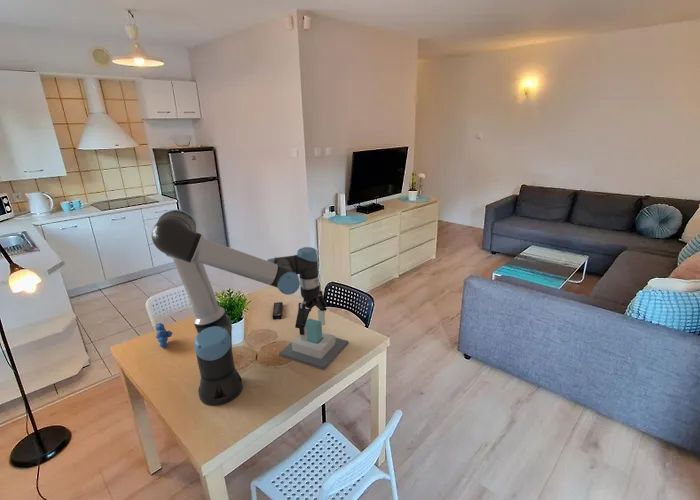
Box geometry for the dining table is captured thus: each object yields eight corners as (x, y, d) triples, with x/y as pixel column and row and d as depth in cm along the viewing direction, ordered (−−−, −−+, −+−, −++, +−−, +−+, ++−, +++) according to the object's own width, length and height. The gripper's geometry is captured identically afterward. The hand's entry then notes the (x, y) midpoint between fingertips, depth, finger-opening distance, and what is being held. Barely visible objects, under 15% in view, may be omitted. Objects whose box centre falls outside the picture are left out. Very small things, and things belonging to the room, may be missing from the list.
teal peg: (317, 351, 153) (316, 326, 149) (305, 347, 156) (303, 322, 152) (322, 346, 156) (321, 321, 152) (311, 342, 159) (309, 318, 155)
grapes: (176, 351, 158) (171, 327, 154) (159, 356, 155) (153, 331, 151) (174, 338, 168) (169, 315, 164) (157, 342, 165) (152, 319, 161)
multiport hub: (282, 305, 195) (282, 301, 194) (281, 319, 182) (281, 315, 181) (274, 306, 195) (274, 302, 194) (272, 320, 181) (272, 316, 180)
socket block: (324, 370, 143) (323, 358, 142) (279, 355, 153) (277, 344, 151) (348, 343, 160) (348, 332, 158) (306, 331, 170) (305, 321, 168)
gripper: (299, 300, 135) (303, 350, 142) (333, 275, 155) (335, 319, 162) (282, 297, 138) (287, 345, 145) (318, 272, 159) (321, 316, 166)
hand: (313, 332), depth 154 cm, fingers open, 13 cm apart
